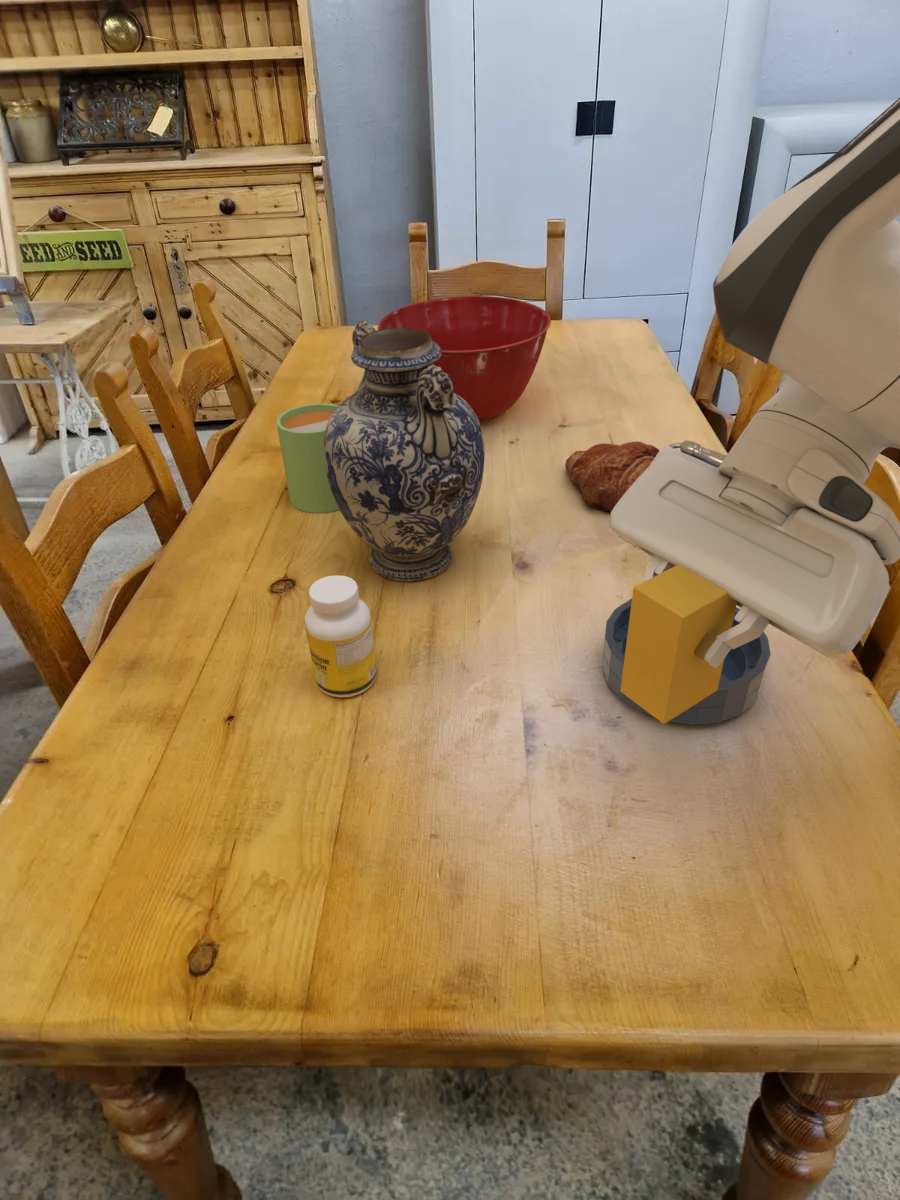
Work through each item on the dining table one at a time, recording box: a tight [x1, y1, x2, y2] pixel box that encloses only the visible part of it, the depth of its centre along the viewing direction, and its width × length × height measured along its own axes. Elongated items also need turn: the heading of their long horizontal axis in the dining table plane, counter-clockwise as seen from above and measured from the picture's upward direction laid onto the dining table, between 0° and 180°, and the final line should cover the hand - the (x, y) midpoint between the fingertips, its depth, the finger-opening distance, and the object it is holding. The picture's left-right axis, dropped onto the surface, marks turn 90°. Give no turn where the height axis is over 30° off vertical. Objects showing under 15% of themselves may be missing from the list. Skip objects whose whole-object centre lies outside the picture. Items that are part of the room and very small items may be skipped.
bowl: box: [601, 598, 771, 726], centre depth 79 cm, size 16×16×5 cm
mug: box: [275, 403, 340, 514], centre depth 112 cm, size 13×10×12 cm
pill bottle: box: [304, 574, 378, 698], centre depth 79 cm, size 6×6×12 cm
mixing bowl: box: [377, 295, 552, 423], centre depth 135 cm, size 28×28×15 cm
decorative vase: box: [324, 320, 485, 582], centre depth 92 cm, size 21×19×28 cm
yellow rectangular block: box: [620, 564, 737, 725], centre depth 58 cm, size 4×6×10 cm
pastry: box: [564, 440, 661, 513], centre depth 109 cm, size 17×15×8 cm
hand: (672, 640), depth 58 cm, fingers closed on yellow rectangular block, 4 cm apart
